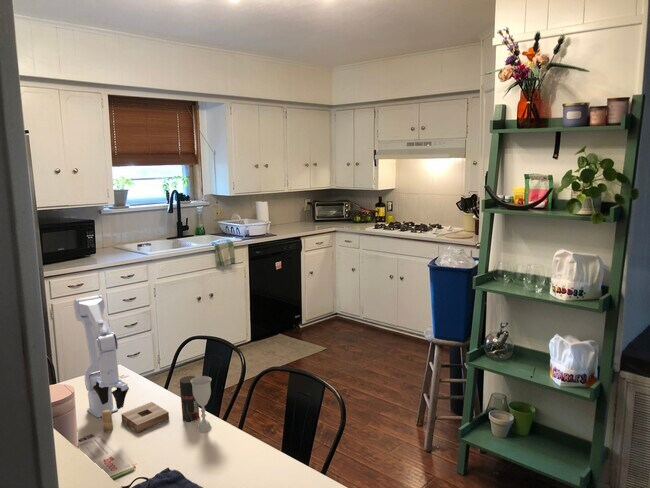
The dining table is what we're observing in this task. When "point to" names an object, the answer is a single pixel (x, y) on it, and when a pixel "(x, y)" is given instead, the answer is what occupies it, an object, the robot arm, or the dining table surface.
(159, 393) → the dining table surface
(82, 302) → the robot arm
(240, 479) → the dining table surface
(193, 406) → the deodorant
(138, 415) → the socket block
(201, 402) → the chalice
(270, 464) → the dining table surface
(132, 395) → the dining table surface
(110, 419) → the pin
